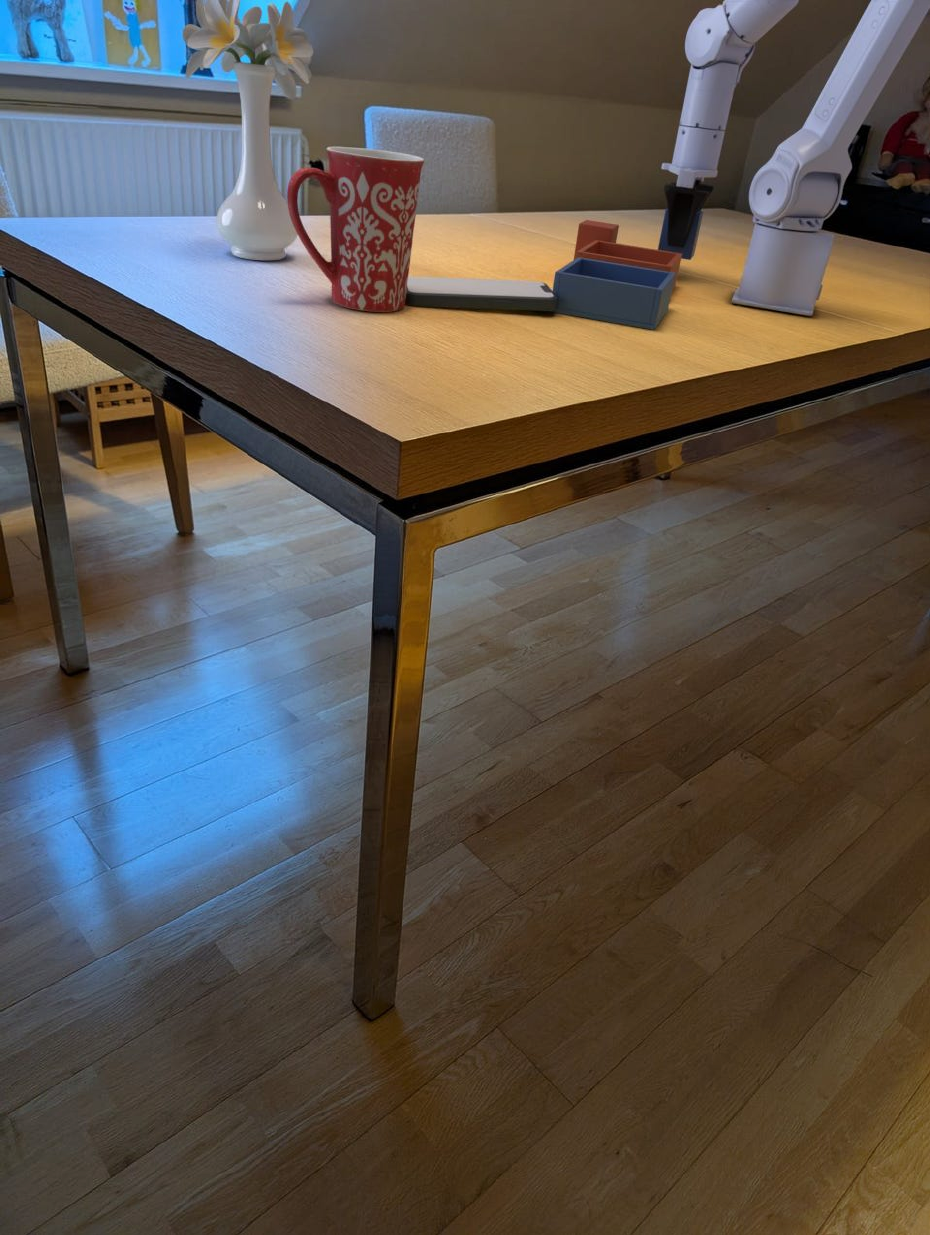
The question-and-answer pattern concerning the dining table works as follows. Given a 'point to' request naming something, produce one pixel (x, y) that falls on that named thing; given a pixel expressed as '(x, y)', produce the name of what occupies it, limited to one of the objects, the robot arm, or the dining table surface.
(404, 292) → the mug
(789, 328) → the dining table surface
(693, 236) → the blue block
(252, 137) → the flower vase
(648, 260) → the terracotta bin
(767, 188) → the robot arm
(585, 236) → the terracotta block
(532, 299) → the phone case
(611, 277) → the blue bin
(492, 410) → the dining table surface
